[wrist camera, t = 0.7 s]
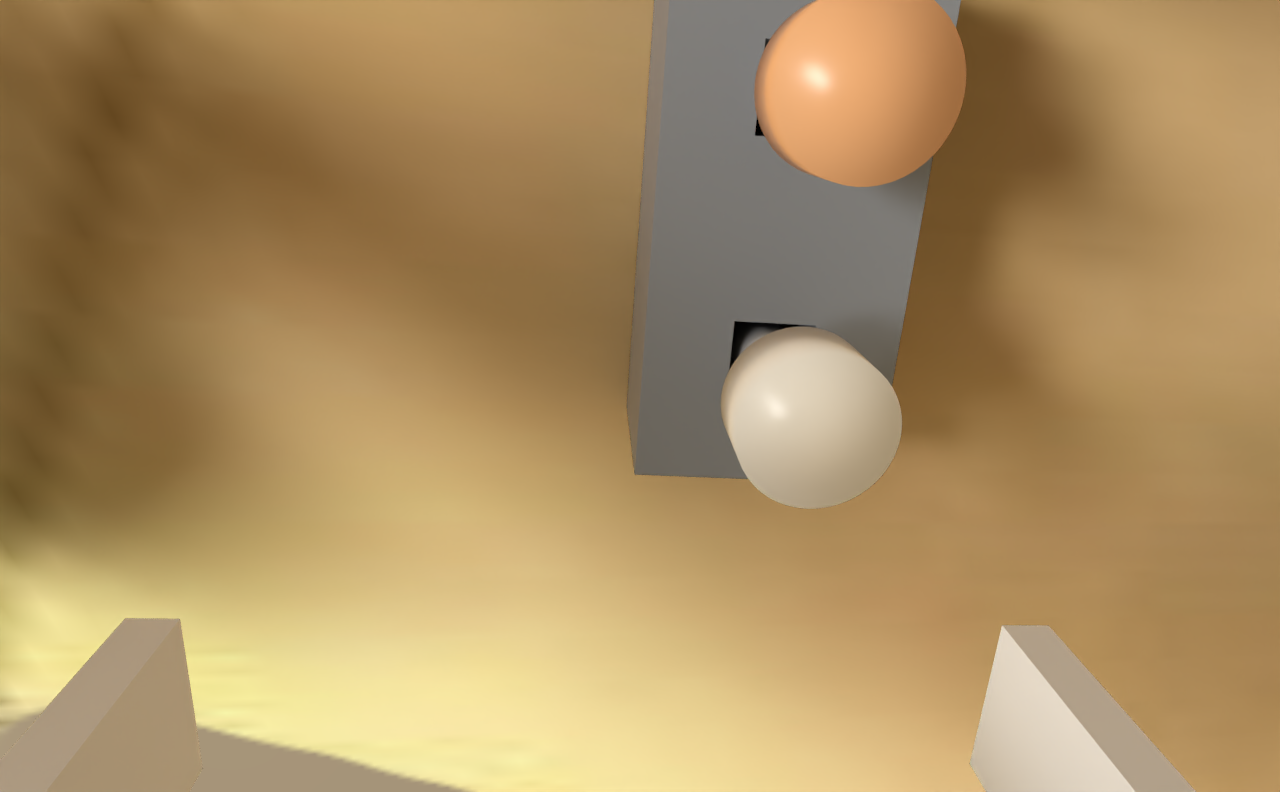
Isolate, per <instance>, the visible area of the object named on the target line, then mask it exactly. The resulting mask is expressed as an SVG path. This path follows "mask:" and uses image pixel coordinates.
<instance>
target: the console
mask: <svg viewBox="0 0 1280 792" xmlns="http://www.w3.org/2000/svg"><path fill="white" fill-rule="evenodd" d="M813 1H815V0H654V12H653V27H652V41H651V56H650V71H649V85H648V100H647V115H646V130H645V144H644V159H643V174H642V188H641V203H640V218H639V233H638V247H637V262H636V277H635V291H634V306H633V321H632V336H631V350H630V365H629V380H628V394H627V414H628V422H629V431H630V439H631V448H632V457H633V465H634V474H635V475H660V476H685V477H711V478H736V479H748V478H747V476H746V474H745V473H744V471H743V469H742V467H741V465H740V462H739V460H738V458H737V455H736V453H735V450H734V448H733V445H732V443H731V441H730V438H729V436H728V433H727V431H726V428H725V426H724V423H723V419H722V414H721V394H722V388H723V385H724V382H725V378H726V376H727V374H728V372H729V370H730V368H731V366H732V365H733V363H734V360H733V358H732V356H731V349H732V340H733V330H734V321H741V322H759V323H778V324H779V325H780V327H781V328H782V329H785V328H790V327H814V328H819V329H823V330H827V331H829V332H832V333H834V334H836V335H838V336H839V337H841V338H843V339H844V340H845V341H847V342H848V343H849V344H850V345H852V346H853V347H854V348H855V349H856V350H857V351H858V352H859V353H860V354H861V355H862V356H863V357H864V358H866V359H867V360H868V361H869V362H870V363H871V364H872V365H873V366H874V367H875V368H876V369H877V370H878V371H879V372H880V373H881V374H882V375H883V376H884V377H885V378H886V379H887V380H888V382H889V383H890V385H891V386H892V383H893V378H894V372H895V366H896V361H897V355H898V350H899V344H900V338H901V333H902V327H903V322H904V316H905V310H906V305H907V299H908V294H909V288H910V283H911V277H912V271H913V266H914V260H915V255H916V249H917V243H918V238H919V232H920V227H921V221H922V215H923V210H924V204H925V199H926V193H927V187H928V182H929V176H930V171H931V165H932V159H933V156H932V157H931V158H930V159H929V160H928V161H927V162H926V163H924V164H923V165H922V166H920V167H919V168H918V169H916V170H915V171H913V172H912V173H910V174H908V175H906V176H905V177H903V178H900V179H898V180H896V181H893V182H890V183H886V184H883V185H878V186H871V187H853V186H846V185H841V184H838V183H834V182H831V181H828V180H825V179H822V178H819V177H816V176H813V175H810V174H807V173H804V172H802V171H800V170H798V169H796V168H794V167H793V166H791V165H789V164H788V163H787V162H785V161H784V160H783V159H782V158H781V157H780V156H779V155H778V154H777V153H776V152H775V151H774V150H773V149H772V147H771V146H770V144H769V143H768V141H767V140H766V138H765V136H764V134H763V132H755V130H756V121H757V114H756V109H755V99H754V88H755V78H756V73H757V68H758V65H759V62H760V59H761V56H762V54H763V52H764V49H765V47H766V45H767V44H768V42H769V40H770V38H771V37H772V35H773V34H774V33H775V31H776V30H777V29H778V28H779V26H780V25H781V24H782V23H783V22H784V21H785V20H786V19H787V18H788V17H790V16H791V15H792V14H793V13H795V12H796V11H797V10H799V9H800V8H802V7H804V6H805V5H807V4H809V3H811V2H813ZM935 1H936V2H937V3H938V4H939V5H940V6H941V7H942V8H943V9H944V11H945V12H946V13H947V15H948V16H949V17H950V19H951V20H952V22H953V24H954V26H955V27H956V25H957V19H958V14H959V8H960V3H961V0H935ZM874 484H875V483H874Z"/></svg>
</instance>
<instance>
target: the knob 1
mask: <svg viewBox="0 0 1280 792" xmlns="http://www.w3.org/2000/svg"><path fill="white" fill-rule="evenodd" d="M965 88H966V60H965V53H964V49H963V45H962V42H961V39H960V37H959V34H958V31H957V29H956V27H955V26H954V24H953V22H952V20H951V19H950V17H949V16H948V15H947V13H946V12H945V11H944V9H943V8H942V7H941V6H940V5H939V4H938V3H937V2H936V1H935V0H815V1H813V2H811V3H809V4H807V5H805V6H804V7H802V8H800V9H799V10H797V11H796V12H795V13H793V14H792V15H791V16H790V17H788V18H787V19H786V20H785V21H784V22H783V23H782V24H781V25H780V26H779V28H778V29H777V30H776V31H775V33H774V34H773V35H772V37H771V38H770V40H769V42H768V44H767V45H766V47H765V49H764V52H763V54H762V56H761V59H760V62H759V65H758V68H757V73H756V78H755V88H754V99H755V109H756V114H757V119H758V121H759V124H760V127H761V130H762V132H763V134H764V136H765V138H766V140H767V141H768V143H769V144H770V146H771V147H772V149H773V150H774V151H775V152H776V153H777V154H778V155H779V156H780V157H781V158H782V159H783V160H784V161H785V162H787V163H788V164H789V165H791V166H793V167H794V168H796V169H798V170H800V171H802V172H804V173H807V174H810V175H813V176H816V177H819V178H822V179H825V180H828V181H831V182H834V183H838V184H841V185H846V186H853V187H871V186H878V185H883V184H886V183H890V182H893V181H896V180H898V179H900V178H903V177H905V176H906V175H908V174H910V173H912V172H913V171H915V170H916V169H918V168H919V167H920V166H922V165H923V164H924V163H926V162H927V161H928V160H929V159H930V158H931V157H932V156H933V155H934V154H935V153H936V152H937V151H938V149H939V148H940V147H941V146H942V145H943V143H944V142H945V140H946V139H947V137H948V136H949V134H950V133H951V131H952V129H953V127H954V125H955V123H956V121H957V118H958V116H959V113H960V110H961V107H962V103H963V99H964V95H965Z"/></svg>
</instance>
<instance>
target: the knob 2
mask: <svg viewBox="0 0 1280 792" xmlns="http://www.w3.org/2000/svg"><path fill="white" fill-rule="evenodd" d="M731 356H732V358H733V360H734V363H733V365H732V366H731V368H730V370H729V372H728V374H727V376H726V378H725V382H724V385H723V388H722V394H721V414H722V419H723V423H724V426H725V428H726V431H727V433H728V436H729V438H730V441H731V443H732V445H733V448H734V450H735V453H736V455H737V458H738V460H739V462H740V465H741V467H742V469H743V471H744V473H745V474H746V476H747V478H748V479H749V480H750V481H751V483H752V484H753V485H754V486H755V487H756V488H757V489H758V490H759V491H760V492H762V493H763V494H764V495H766V496H767V497H769V498H771V499H773V500H775V501H776V502H779V503H782V504H784V505H787V506H791V507H796V508H805V509H818V508H825V507H831V506H834V505H838V504H841V503H844V502H846V501H849V500H851V499H853V498H855V497H856V496H858V495H860V494H861V493H863V492H864V491H866V490H867V489H869V488H870V487H871V486H872V485H873V484H874V483H875V482H876V481H877V480H878V479H879V478H880V477H881V476H882V475H883V474H884V472H885V471H886V470H887V468H888V467H889V465H890V464H891V462H892V460H893V458H894V456H895V454H896V451H897V449H898V446H899V442H900V438H901V431H902V414H901V408H900V404H899V401H898V398H897V395H896V393H895V391H894V389H893V387H892V386H891V385H890V383H889V382H888V380H887V379H886V378H885V377H884V376H883V375H882V374H881V373H880V372H879V371H878V370H877V369H876V368H875V367H874V366H873V365H872V364H871V363H870V362H869V361H868V360H867V359H866V358H864V357H863V356H862V355H861V354H860V353H859V352H858V351H857V350H856V349H855V348H854V347H853V346H852V345H850V344H849V343H848V342H847V341H845V340H844V339H843V338H841V337H839V336H838V335H836V334H834V333H832V332H829V331H827V330H823V329H819V328H814V327H790V328H785V329H782V328H781V327H780V325H779V324H778V323H759V322H741V321H734V330H733V340H732V349H731Z"/></svg>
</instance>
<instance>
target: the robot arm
mask: <svg viewBox="0 0 1280 792" xmlns="http://www.w3.org/2000/svg"><path fill="white" fill-rule="evenodd" d="M970 765H971V767H972V769H973V770H974V772H975V774H976V776H977V777H978V779H979V781H980V782H981V784H982V786H983V787H984V789H985V791H986V792H1196V791H1195V790H1194V789H1193V788H1192V786H1191V785H1190V784H1189V783H1188V782H1187V781H1186V780H1185V779H1184V777H1183V776H1182V775H1181V774H1180V773H1179V772H1178V771H1177V770H1176V768H1175V767H1174V766H1173V765H1172V764H1171V763H1170V762H1169V761H1168V759H1167V758H1166V757H1165V756H1164V755H1163V754H1162V753H1161V752H1160V750H1159V749H1158V748H1157V747H1156V746H1155V745H1154V744H1153V743H1152V741H1151V740H1150V739H1149V738H1148V737H1147V736H1146V735H1145V734H1144V732H1143V731H1142V730H1141V729H1140V728H1139V727H1138V726H1137V725H1136V723H1135V722H1134V721H1133V720H1132V719H1131V718H1130V717H1129V716H1128V714H1127V713H1126V712H1125V711H1124V710H1123V709H1122V708H1121V707H1120V705H1119V704H1118V703H1117V702H1116V701H1115V700H1114V699H1113V698H1112V696H1111V695H1110V694H1109V693H1108V692H1107V691H1106V690H1105V689H1104V687H1103V686H1102V685H1101V684H1100V683H1099V682H1098V681H1097V680H1096V678H1095V677H1094V676H1093V675H1092V674H1091V673H1090V672H1089V670H1088V669H1087V668H1086V667H1085V666H1084V665H1083V664H1082V663H1081V661H1080V660H1079V659H1078V658H1077V657H1076V656H1075V655H1074V654H1073V652H1072V651H1071V650H1070V649H1069V648H1068V647H1067V646H1066V645H1065V643H1064V642H1063V641H1062V640H1061V639H1060V638H1059V637H1058V636H1057V634H1056V633H1055V632H1054V631H1053V630H1052V629H1051V628H1050V627H1049V626H1044V625H1002V628H1001V632H1000V637H999V641H998V645H997V649H996V654H995V658H994V662H993V666H992V671H991V675H990V679H989V683H988V688H987V692H986V696H985V701H984V705H983V709H982V713H981V718H980V722H979V726H978V730H977V735H976V739H975V743H974V747H973V752H972V756H971V760H970ZM202 769H203V767H202V761H201V754H200V748H199V741H198V734H197V728H196V721H195V714H194V708H193V701H192V695H191V688H190V682H189V675H188V668H187V662H186V655H185V649H184V642H183V635H182V629H181V622H180V619H135V618H125V619H124V620H123V621H122V623H121V624H120V625H119V626H118V627H117V628H116V629H115V630H114V632H113V633H112V634H111V635H110V636H109V637H108V638H107V639H106V641H105V642H104V643H103V644H102V645H101V646H100V647H99V649H98V650H97V651H96V652H95V653H94V654H93V655H92V656H91V658H90V659H89V660H88V661H87V662H86V663H85V664H84V666H83V667H82V668H81V669H80V670H79V671H78V672H77V673H76V675H75V676H74V677H73V678H72V679H71V680H70V681H69V683H68V684H67V685H66V686H65V687H64V688H63V689H62V690H61V692H60V693H59V694H58V695H57V696H56V697H55V698H54V699H53V701H52V702H51V703H50V704H49V705H48V706H47V707H46V709H45V710H44V711H43V712H42V713H41V714H40V715H39V716H38V718H37V719H36V720H35V721H34V722H33V723H32V724H31V726H30V727H29V728H28V729H27V730H26V731H25V732H24V733H23V735H22V736H21V737H20V738H19V739H18V740H17V742H16V743H15V744H14V745H13V746H12V747H11V748H10V749H9V751H8V752H7V753H6V754H5V755H4V756H3V757H2V758H1V760H0V792H190V790H191V788H192V787H193V785H194V783H195V781H196V779H197V778H198V776H199V774H200V772H201V771H202Z"/></svg>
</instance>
